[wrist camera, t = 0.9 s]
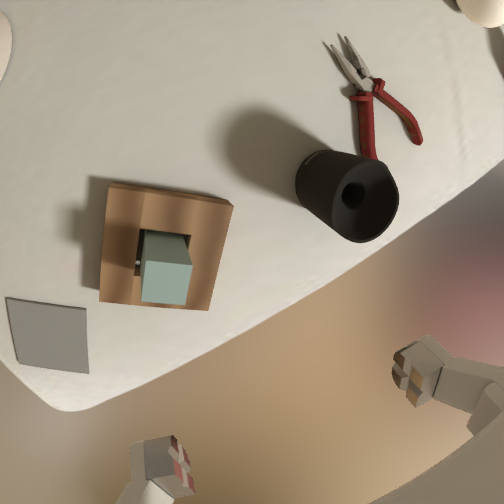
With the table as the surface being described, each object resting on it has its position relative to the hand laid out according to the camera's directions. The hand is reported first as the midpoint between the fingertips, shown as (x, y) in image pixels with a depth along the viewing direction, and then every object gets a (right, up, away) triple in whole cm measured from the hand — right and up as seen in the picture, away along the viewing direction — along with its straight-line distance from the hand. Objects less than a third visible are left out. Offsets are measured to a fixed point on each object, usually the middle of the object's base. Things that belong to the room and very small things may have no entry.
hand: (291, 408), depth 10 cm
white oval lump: (+40, +53, +25) cm, 71 cm away
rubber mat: (-30, -7, +28) cm, 41 cm away
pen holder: (+8, +15, +32) cm, 36 cm away
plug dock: (-12, +6, +28) cm, 31 cm away
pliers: (+17, +26, +30) cm, 43 cm away
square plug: (-12, +6, +28) cm, 31 cm away
